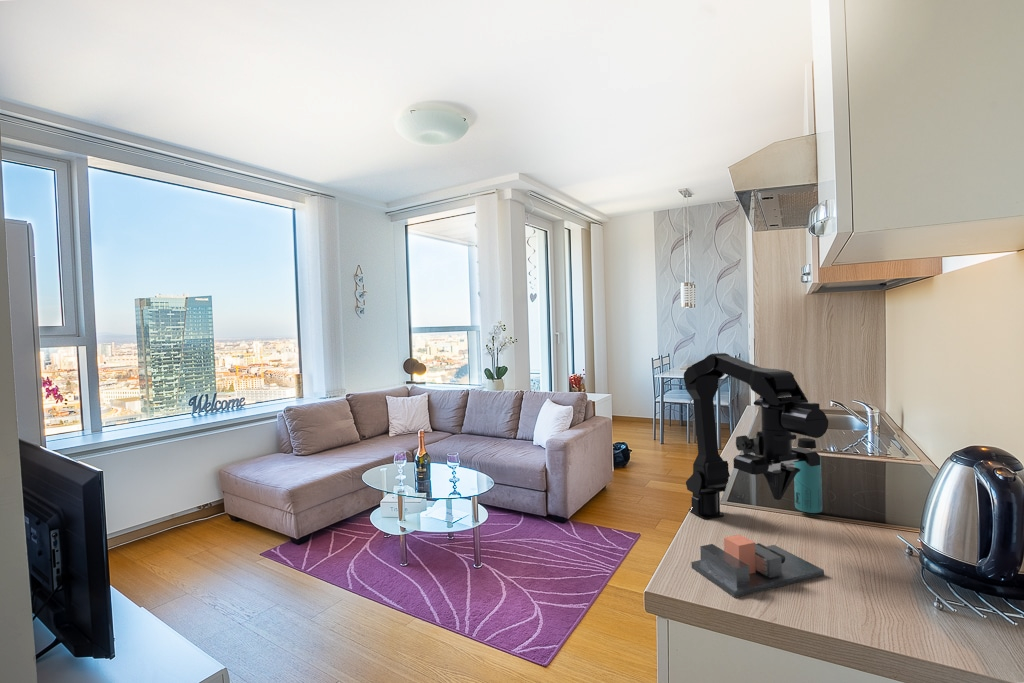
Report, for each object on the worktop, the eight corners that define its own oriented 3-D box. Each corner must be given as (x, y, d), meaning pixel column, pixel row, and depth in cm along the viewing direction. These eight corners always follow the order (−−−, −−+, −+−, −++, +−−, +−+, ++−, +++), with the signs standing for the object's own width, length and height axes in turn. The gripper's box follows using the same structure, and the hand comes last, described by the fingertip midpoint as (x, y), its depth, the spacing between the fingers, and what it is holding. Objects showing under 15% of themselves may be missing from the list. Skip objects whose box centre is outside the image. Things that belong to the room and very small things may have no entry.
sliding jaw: (754, 550, 104) (753, 534, 103) (794, 572, 94) (793, 554, 94) (729, 555, 102) (729, 539, 102) (767, 578, 92) (767, 560, 92)
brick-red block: (740, 563, 99) (739, 534, 99) (755, 572, 95) (755, 542, 95) (724, 566, 98) (723, 537, 97) (739, 576, 94) (738, 545, 94)
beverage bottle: (829, 517, 123) (828, 440, 123) (807, 520, 122) (806, 442, 122) (808, 508, 130) (807, 435, 129) (787, 511, 128) (786, 437, 128)
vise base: (774, 550, 107) (773, 529, 106) (824, 576, 95) (823, 552, 95) (691, 567, 100) (691, 545, 100) (734, 597, 88) (734, 572, 88)
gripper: (778, 418, 115) (780, 483, 115) (714, 425, 109) (716, 493, 110) (821, 427, 104) (822, 498, 105) (753, 435, 99) (754, 510, 99)
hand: (777, 499), depth 105 cm, fingers closed
